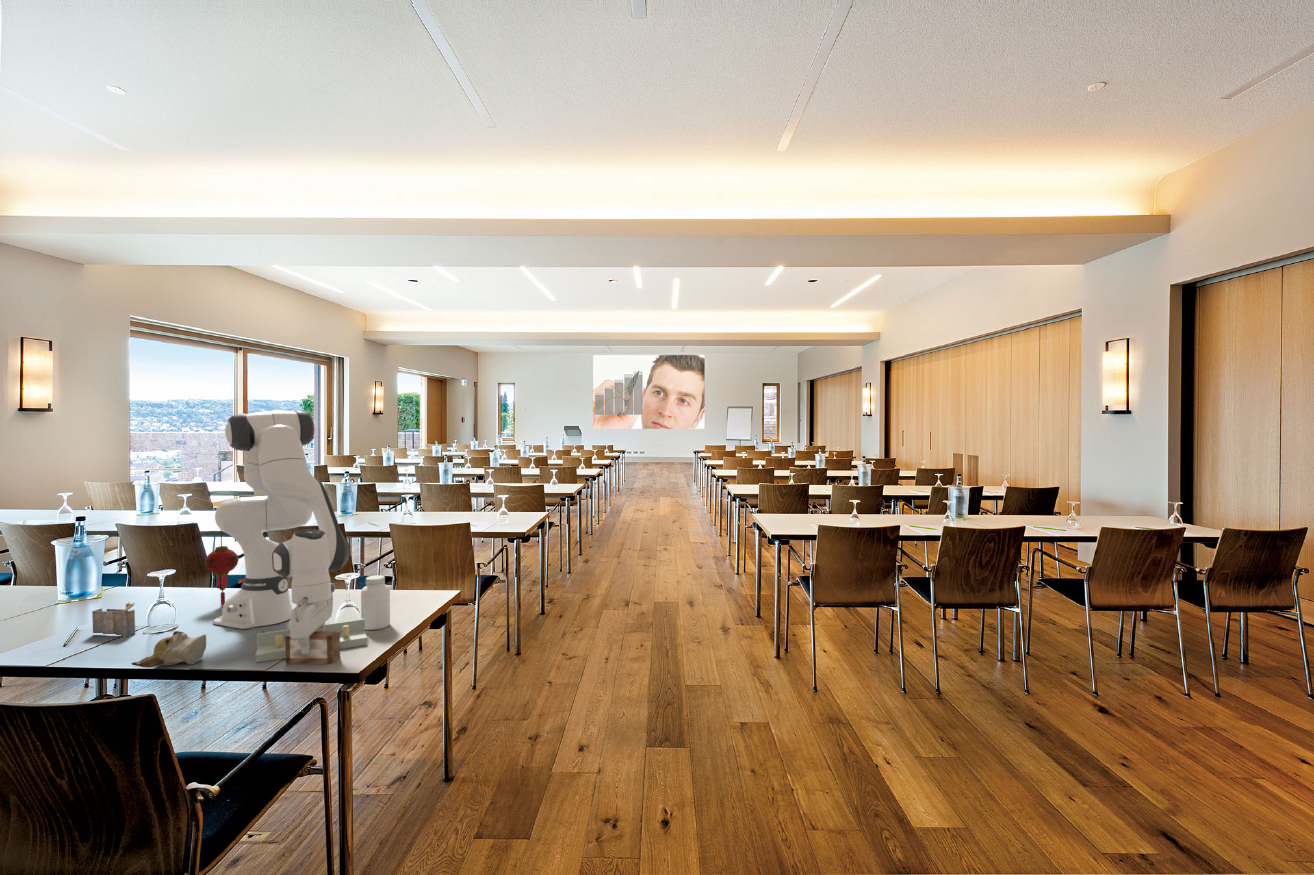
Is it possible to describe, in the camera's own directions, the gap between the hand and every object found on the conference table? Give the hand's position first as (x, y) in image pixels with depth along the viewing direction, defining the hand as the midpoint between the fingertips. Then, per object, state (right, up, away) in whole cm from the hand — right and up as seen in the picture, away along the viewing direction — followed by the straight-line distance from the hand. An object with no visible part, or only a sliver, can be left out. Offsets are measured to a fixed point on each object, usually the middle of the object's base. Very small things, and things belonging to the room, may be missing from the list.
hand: (312, 646), depth 163 cm
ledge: (-5, -4, +9) cm, 11 cm away
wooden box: (0, -4, 0) cm, 4 cm away
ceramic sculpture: (-35, -5, -1) cm, 35 cm away
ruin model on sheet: (-70, -5, +22) cm, 74 cm away
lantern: (-59, -3, +51) cm, 78 cm away
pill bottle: (+4, -3, +28) cm, 28 cm away
